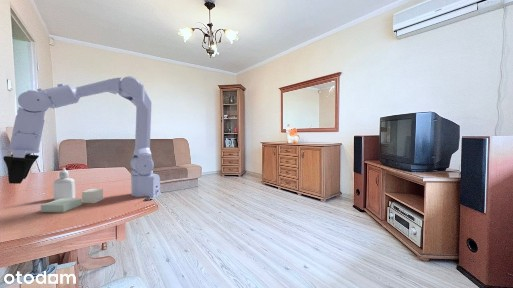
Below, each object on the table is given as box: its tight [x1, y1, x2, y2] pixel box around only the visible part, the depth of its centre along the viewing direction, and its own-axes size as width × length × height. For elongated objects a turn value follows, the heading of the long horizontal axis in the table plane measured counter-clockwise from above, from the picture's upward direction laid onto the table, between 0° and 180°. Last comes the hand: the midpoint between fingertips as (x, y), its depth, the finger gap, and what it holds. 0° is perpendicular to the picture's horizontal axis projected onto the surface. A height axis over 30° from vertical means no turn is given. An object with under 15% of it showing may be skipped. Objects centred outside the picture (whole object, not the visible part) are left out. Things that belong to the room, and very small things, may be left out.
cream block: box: [81, 188, 104, 204], centre depth 72 cm, size 4×4×5 cm
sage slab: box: [40, 197, 83, 213], centre depth 65 cm, size 6×6×2 cm
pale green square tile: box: [36, 203, 86, 214], centre depth 65 cm, size 8×8×2 cm
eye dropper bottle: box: [53, 167, 76, 201], centre depth 75 cm, size 4×6×12 cm
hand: (17, 181), depth 60 cm, fingers open, 7 cm apart
